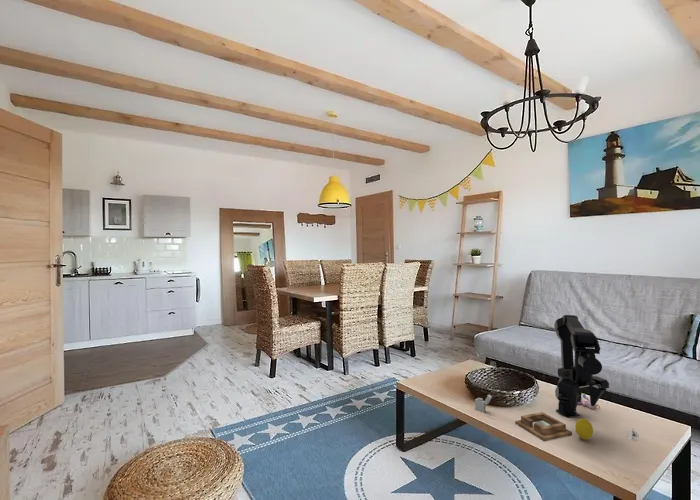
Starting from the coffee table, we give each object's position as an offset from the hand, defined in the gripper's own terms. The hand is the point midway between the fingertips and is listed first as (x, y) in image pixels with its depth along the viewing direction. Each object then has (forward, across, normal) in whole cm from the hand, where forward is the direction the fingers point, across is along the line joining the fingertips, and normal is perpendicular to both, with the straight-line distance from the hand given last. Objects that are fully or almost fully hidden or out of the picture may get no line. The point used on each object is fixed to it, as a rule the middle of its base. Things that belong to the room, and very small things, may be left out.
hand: (583, 407), depth 133 cm
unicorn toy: (+12, -27, -23) cm, 38 cm away
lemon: (+12, 0, 0) cm, 12 cm away
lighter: (+12, +20, -31) cm, 39 cm away
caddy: (+12, +8, -11) cm, 18 cm away
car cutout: (+13, -23, +2) cm, 27 cm away
